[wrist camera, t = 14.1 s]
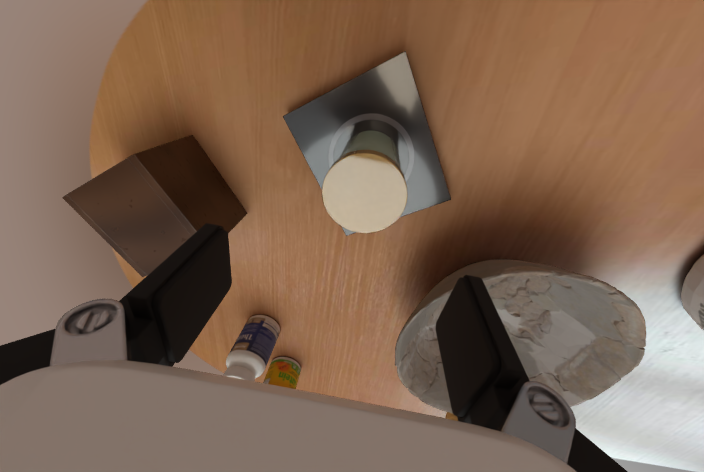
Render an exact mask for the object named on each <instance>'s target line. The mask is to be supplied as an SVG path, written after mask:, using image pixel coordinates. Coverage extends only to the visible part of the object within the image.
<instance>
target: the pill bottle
mask: <svg viewBox="0 0 704 472" xmlns="http://www.w3.org/2000/svg"><path fill="white" fill-rule="evenodd" d="M279 333H280V327H279V325H278V323H277V322H276V321H275V320H273V319H272V318H270V317H268V316H265V315H255V316H252V317H251V318H249V320H248V321H247V323H246V324H245V326H244V328H243V330H242V331H241V333H240V335H239V337H238V339H237V340H236V342H235V344H234V346H233V348H232V349H231V351H230V353H229V355H228V357H227V359H226V365H227V370H226V371H225V373H224V375H223V376H227V377H233V378H238V379H243V380H249V381H255V378H257V377H259V376H260V375H262V373H263V372H264V370H265V368H266V365H267V363H268V360H269V358H270V355H271V353H272V350H273V348H274V346H275V343H276V341H277V338H278V336H279Z"/></svg>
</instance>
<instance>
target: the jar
mask: <svg viewBox="0 0 704 472" xmlns="http://www.w3.org/2000/svg"><path fill="white" fill-rule="evenodd" d="M407 196H408V195H407V185H406V180H405V176H404V174H403V172H402V170H401V164H400V157H399V152H398V149H397V146H396V145H395V143H394V142H393V140H392V139H391V138H390V137H388V136H387V135H385V134H383V133H381V132H378V131H364V132H361V133H358V134H356V135H355V136H353V137H352V138H351V139H350V140H349V141H348V143H347V144H346V146H345V147H344V149H343V151H342V153H341V155H340V157H339V158H338V159H337V160H336V161H335V162H334V163H333V165H332V166H331V167H330V169H329V171H328V173H327V174H326V176H325V179H324V181H323V185H322V198H323V203H324V206H325V208H326V210H327V212H328V214H329V215H330V216H331V218H332V219H333V220H334V221H335V222H336V223H338V224H339V225H340V226H342V227H344V228H345V229H348V230H350V231H353V232H358V233H373V232H378V231H381V230H383V229H386V228H387V227H389V226H391V225H392V224H393V223H394V222H395V221H396V220H397V219H398V218H399V217H400V216H401V214H402V213H403V211H404V209H405V206H406V203H407Z"/></svg>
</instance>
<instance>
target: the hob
mask: <svg viewBox="0 0 704 472" xmlns="http://www.w3.org/2000/svg"><path fill="white" fill-rule="evenodd" d="M283 118H284V120H285V121H286V123H287V125H288V127H289V129H290V131H291V133H292V135H293V136H294V138H295V140H296V142H297V144H298V146H299V148H300V150H301V151H302V153H303V155H304V157H305V159H306V161H307V163H308V165H309V167H310V168H311V170H312V172H313V174H314V176H315V178H316V180H317V182H318V183H319V185H320V187H321V189H322V185H323V181H324V179H325V176H326V174H327V173H328V171H329V169H330V167H331V166H332V165H333V163H334V162H335V161H336V160H337V159H338V158H339V157H340V155H341V153H342V151H343V149H344V147H345V146H346V144H347V143H348V141H349V140H350V139H351V138H352V137H353V136H355V135H356V134H358V133H361V132H364V131H378V132H381V133H383V134H385V135H387V136H388V137H390V138H391V139H392V140H393V142H394V143H395V145H396V146H397V149H398V152H399V157H400V164H401V170H402V172H403V174H404V176H405V180H406V185H407V195H408V196H407V203H406V206H405V209H404V211H403V213H402V214H401V216H400V217H402V216H405V215H408V214H411V213H414V212H417V211H419V210H422V209H425V208H428V207H431V206H434V205H437V204H440V203H443V202H445V201H448V200H451V197H450V194H449V191H448V188H447V184H446V181H445V178H444V175H443V171H442V168H441V165H440V162H439V158H438V155H437V152H436V149H435V145H434V142H433V139H432V136H431V132H430V129H429V126H428V123H427V119H426V116H425V113H424V109H423V106H422V103H421V100H420V96H419V93H418V90H417V87H416V83H415V80H414V77H413V74H412V70H411V67H410V64H409V61H408V57H407V54H406V51H404V52H403V53H401V54H399V55H397V56H395V57H393V58H391V59H389V60H387V61H386V62H384V63H382V64H380V65H378V66H376V67H374V68H372V69H371V70H369V71H367V72H365V73H363V74H361V75H359V76H357V77H356V78H354V79H352V80H350V81H348V82H346V83H344V84H342V85H341V86H339V87H337V88H335V89H333V90H331V91H329V92H327V93H325V94H324V95H322V96H320V97H318V98H316V99H314V100H312V101H310V102H309V103H307V104H305V105H303V106H301V107H299V108H297V109H295V110H294V111H292V112H290V113H288V114H286V115H284V116H283ZM341 227H342V226H341ZM342 229H343V230H344V232H345V234H346V236H347V235H350V234H353V233H356V232H353V231H350V230H348V229H345V228H344V227H342Z"/></svg>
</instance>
